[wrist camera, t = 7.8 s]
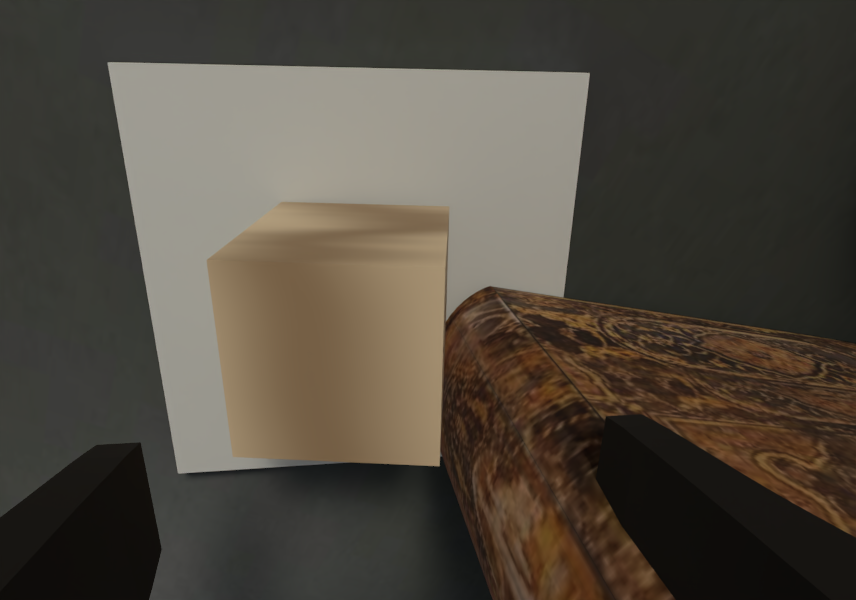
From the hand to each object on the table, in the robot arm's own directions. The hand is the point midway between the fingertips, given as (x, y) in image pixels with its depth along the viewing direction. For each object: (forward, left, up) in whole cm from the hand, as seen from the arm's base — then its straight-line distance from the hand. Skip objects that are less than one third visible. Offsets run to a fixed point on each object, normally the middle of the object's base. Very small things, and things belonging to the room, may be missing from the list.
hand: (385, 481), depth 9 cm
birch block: (0, 0, -8) cm, 8 cm away
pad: (0, 0, -9) cm, 9 cm away
